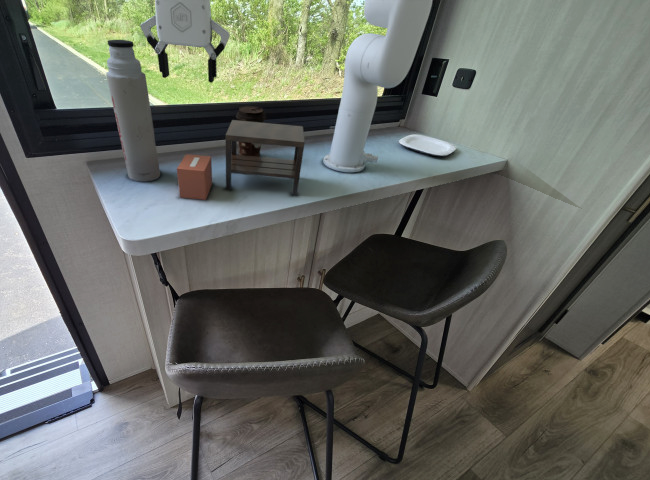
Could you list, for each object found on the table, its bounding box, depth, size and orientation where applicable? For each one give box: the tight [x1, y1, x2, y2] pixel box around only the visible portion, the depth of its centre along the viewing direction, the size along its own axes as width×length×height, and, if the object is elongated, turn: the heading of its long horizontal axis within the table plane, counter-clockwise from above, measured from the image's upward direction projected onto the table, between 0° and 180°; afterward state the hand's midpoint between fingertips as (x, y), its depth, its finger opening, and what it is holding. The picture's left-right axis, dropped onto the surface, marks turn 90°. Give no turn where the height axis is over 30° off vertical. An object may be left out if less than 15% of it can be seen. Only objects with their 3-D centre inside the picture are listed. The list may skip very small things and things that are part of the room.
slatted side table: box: [225, 119, 306, 197], centre depth 82 cm, size 18×12×13 cm, turn 87°
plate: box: [398, 133, 458, 157], centre depth 116 cm, size 18×18×2 cm
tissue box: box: [176, 153, 213, 201], centre depth 78 cm, size 6×9×7 cm
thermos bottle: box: [105, 39, 161, 182], centre depth 75 cm, size 8×8×28 cm
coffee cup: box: [235, 105, 267, 157], centre depth 95 cm, size 9×8×13 cm
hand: (188, 79), depth 69 cm, fingers open, 9 cm apart
